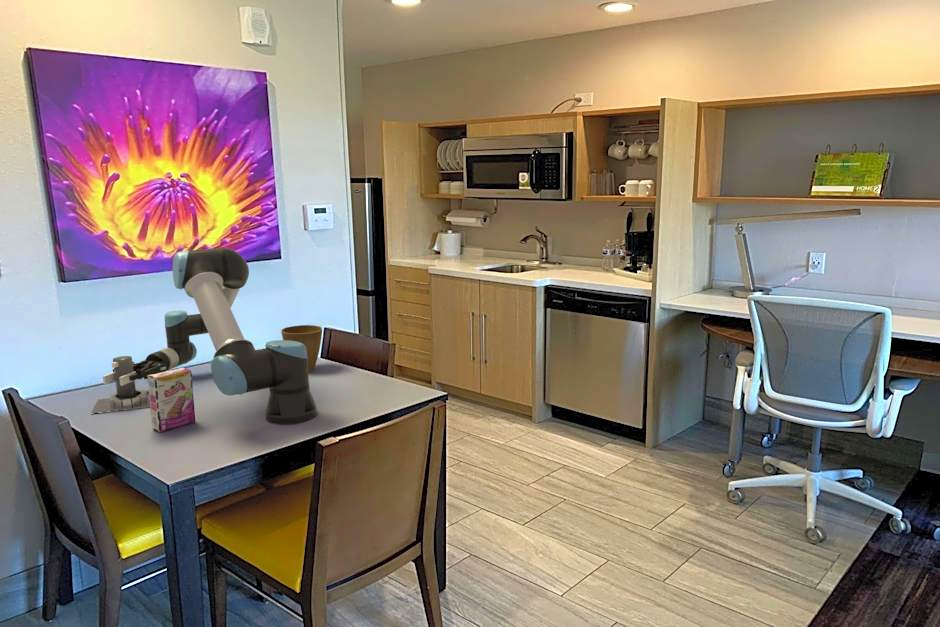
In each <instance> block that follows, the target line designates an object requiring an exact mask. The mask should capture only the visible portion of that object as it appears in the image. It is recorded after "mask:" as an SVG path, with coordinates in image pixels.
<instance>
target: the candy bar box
mask: <svg viewBox="0 0 940 627" xmlns="http://www.w3.org/2000/svg"><path fill="white" fill-rule="evenodd" d="M192 374H193V373H192V369H189V368H185V367H180V368H174V369H170V371H166V372H161V373H156V374H152V375H148V379H147V384H148V394H149V397H150V407H151V408H150V415H151V425H152V429H153V430H155V431H156V432H158V433H163V432H166V431H169V430H172V429H176V427H177V428H180V427H183V426H185V425H186V424H187V425H190V424H193V423H196V411H195V400H194V390H193V387H194V386H193V377H192V376H193V375H192ZM187 425H186V426H187Z"/></svg>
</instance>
